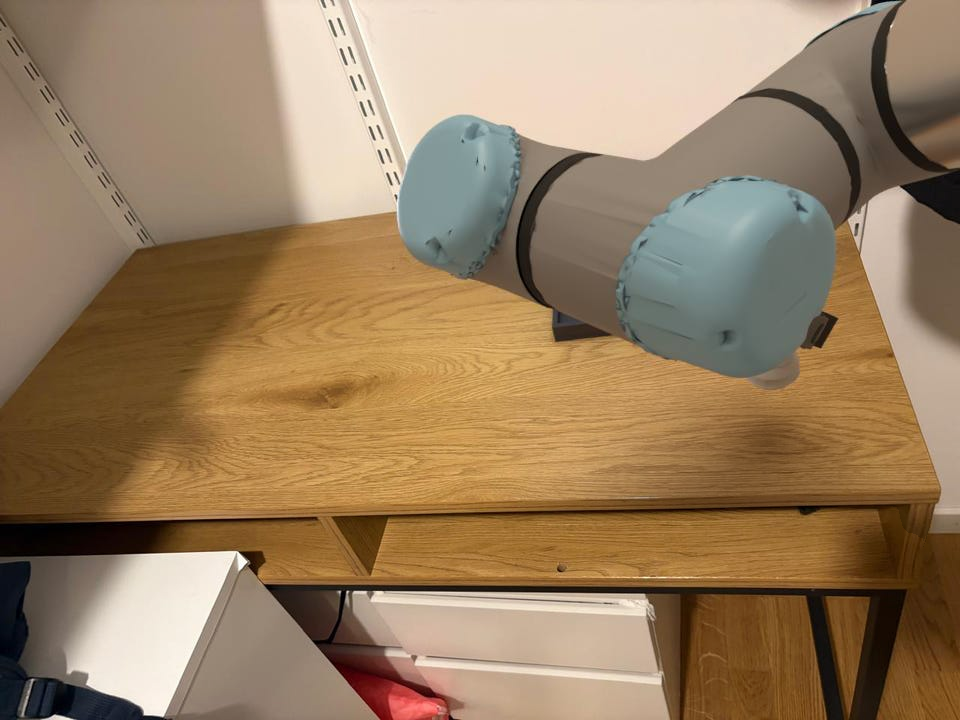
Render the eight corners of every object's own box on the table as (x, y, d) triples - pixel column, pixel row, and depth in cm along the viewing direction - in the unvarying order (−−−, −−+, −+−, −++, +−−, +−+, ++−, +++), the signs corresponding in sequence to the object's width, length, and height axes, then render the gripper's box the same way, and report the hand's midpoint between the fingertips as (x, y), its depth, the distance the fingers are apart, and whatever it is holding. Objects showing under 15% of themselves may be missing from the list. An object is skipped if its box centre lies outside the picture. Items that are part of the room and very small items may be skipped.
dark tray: (677, 327, 79) (676, 312, 78) (555, 341, 82) (551, 327, 81) (666, 253, 88) (665, 239, 87) (557, 269, 92) (554, 255, 90)
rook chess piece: (793, 397, 59) (796, 322, 54) (735, 387, 61) (733, 314, 56) (805, 359, 62) (810, 284, 56) (750, 350, 64) (749, 277, 59)
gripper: (524, 264, 52) (705, 320, 67) (702, 375, 40) (872, 411, 56) (569, 162, 50) (745, 243, 65) (771, 247, 38) (927, 321, 54)
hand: (803, 320), depth 60 cm, fingers closed on rook chess piece, 3 cm apart
